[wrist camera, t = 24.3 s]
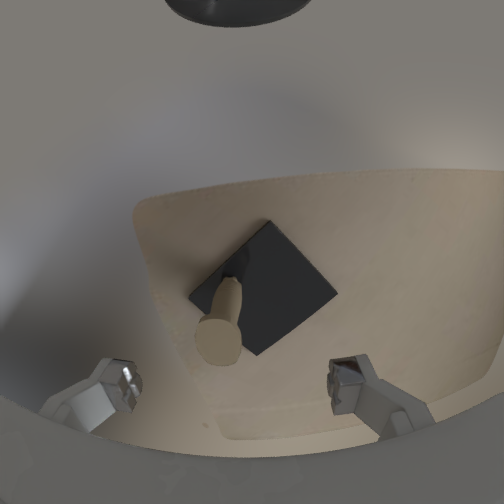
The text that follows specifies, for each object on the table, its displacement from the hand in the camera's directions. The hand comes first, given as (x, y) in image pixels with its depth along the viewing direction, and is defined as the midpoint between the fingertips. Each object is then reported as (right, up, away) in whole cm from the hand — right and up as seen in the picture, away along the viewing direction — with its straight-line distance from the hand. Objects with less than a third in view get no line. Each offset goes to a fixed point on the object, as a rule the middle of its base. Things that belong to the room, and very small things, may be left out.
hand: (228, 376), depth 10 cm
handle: (-2, 0, +32) cm, 32 cm away
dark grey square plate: (+3, -2, +33) cm, 33 cm away
